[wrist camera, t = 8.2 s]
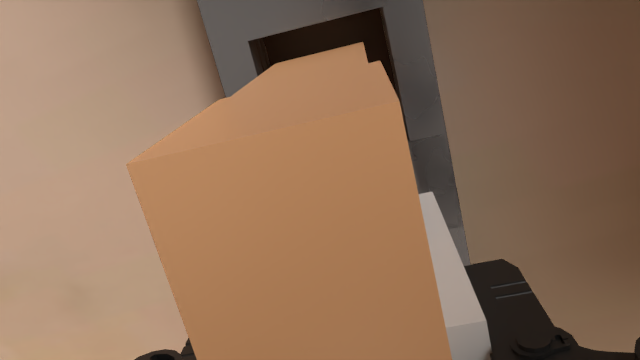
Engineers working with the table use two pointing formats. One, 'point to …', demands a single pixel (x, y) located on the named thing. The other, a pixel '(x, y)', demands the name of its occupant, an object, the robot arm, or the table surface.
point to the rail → (406, 62)
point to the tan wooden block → (296, 219)
